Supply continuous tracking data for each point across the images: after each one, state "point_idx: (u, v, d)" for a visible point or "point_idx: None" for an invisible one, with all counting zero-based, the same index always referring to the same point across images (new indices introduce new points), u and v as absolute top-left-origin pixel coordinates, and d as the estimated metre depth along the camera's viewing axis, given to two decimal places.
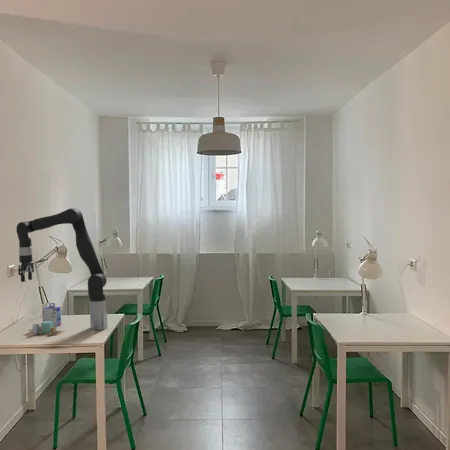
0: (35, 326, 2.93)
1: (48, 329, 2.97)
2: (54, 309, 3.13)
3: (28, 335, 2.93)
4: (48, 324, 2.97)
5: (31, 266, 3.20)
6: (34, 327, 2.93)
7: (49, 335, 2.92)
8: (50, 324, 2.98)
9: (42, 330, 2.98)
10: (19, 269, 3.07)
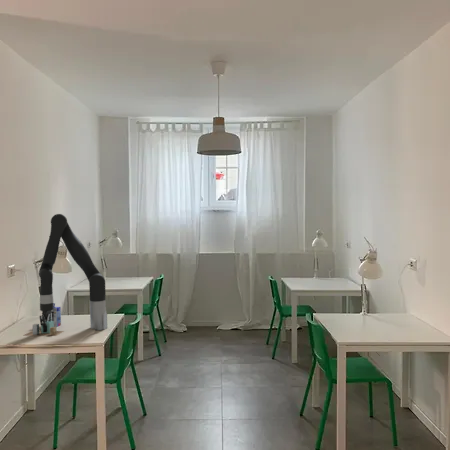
0: (35, 326, 2.93)
1: (48, 329, 2.97)
2: (54, 309, 3.13)
3: (28, 335, 2.93)
4: (48, 324, 2.97)
5: (51, 315, 3.06)
6: (34, 327, 2.93)
7: (49, 335, 2.92)
8: (50, 324, 2.98)
9: (42, 330, 2.98)
10: (41, 320, 2.94)
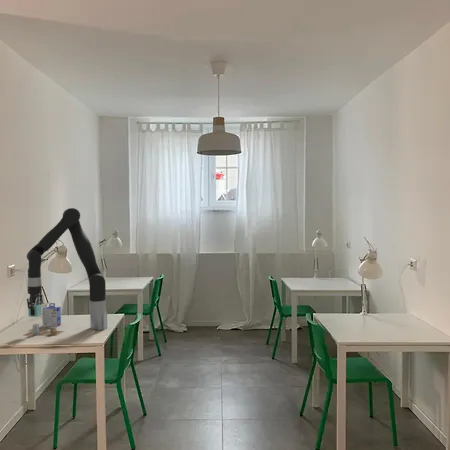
0: (35, 326, 2.93)
1: (35, 312, 2.91)
2: (54, 309, 3.13)
3: (28, 335, 2.93)
4: (35, 307, 2.91)
5: (39, 299, 3.00)
6: (34, 327, 2.93)
7: (49, 335, 2.92)
8: (38, 307, 2.93)
9: (29, 313, 2.92)
10: (28, 303, 2.88)
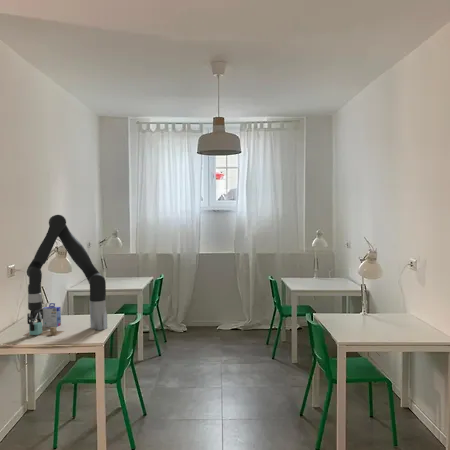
0: None
1: (36, 330, 2.92)
2: (54, 309, 3.13)
3: (28, 335, 2.93)
4: (36, 325, 2.92)
5: None
6: None
7: (49, 335, 2.92)
8: (38, 325, 2.93)
9: (30, 331, 2.92)
10: (28, 318, 2.88)
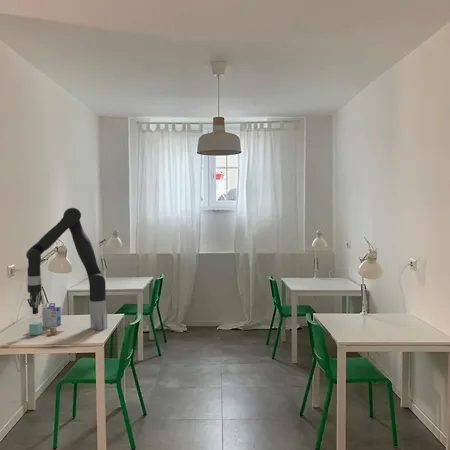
0: None
1: (36, 330, 2.92)
2: (54, 309, 3.13)
3: (28, 335, 2.93)
4: (36, 325, 2.92)
5: (39, 299, 2.99)
6: None
7: (49, 335, 2.92)
8: (38, 325, 2.93)
9: (30, 331, 2.92)
10: (29, 303, 2.89)
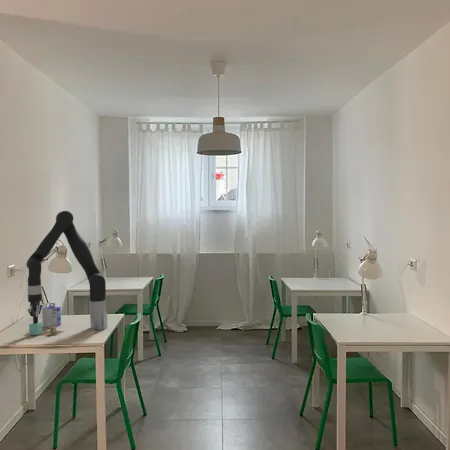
0: None
1: (36, 330, 2.92)
2: (54, 309, 3.13)
3: (28, 335, 2.93)
4: (36, 325, 2.92)
5: None
6: None
7: (49, 335, 2.92)
8: (38, 325, 2.93)
9: (30, 331, 2.92)
10: (30, 312, 2.90)
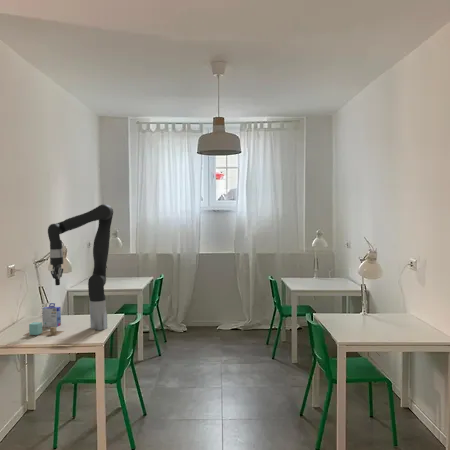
0: None
1: (36, 330, 2.92)
2: (54, 309, 3.13)
3: (28, 335, 2.93)
4: (36, 325, 2.92)
5: (60, 272, 3.14)
6: None
7: (49, 335, 2.92)
8: (38, 325, 2.93)
9: (30, 331, 2.92)
10: (52, 275, 3.05)
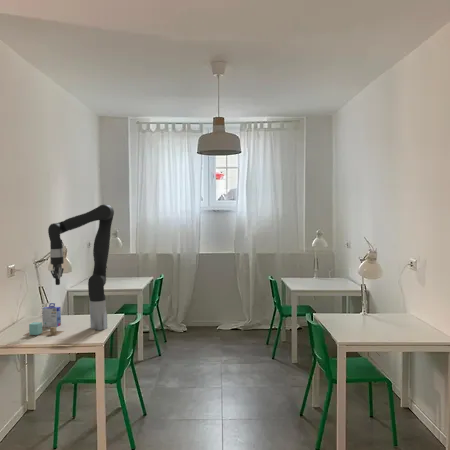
0: None
1: (36, 330, 2.92)
2: (54, 309, 3.13)
3: (28, 335, 2.93)
4: (36, 325, 2.92)
5: (60, 271, 3.14)
6: None
7: (49, 335, 2.92)
8: (38, 325, 2.93)
9: (30, 331, 2.92)
10: (53, 274, 3.05)
